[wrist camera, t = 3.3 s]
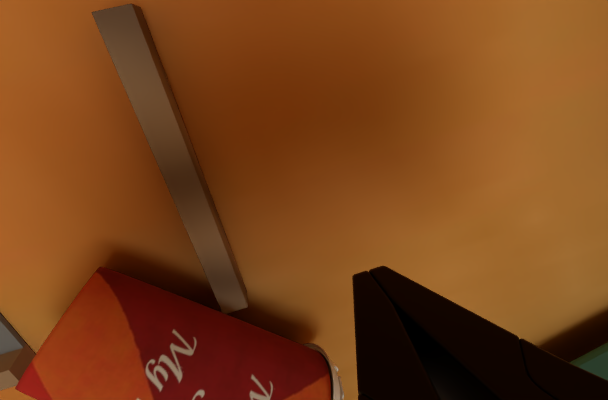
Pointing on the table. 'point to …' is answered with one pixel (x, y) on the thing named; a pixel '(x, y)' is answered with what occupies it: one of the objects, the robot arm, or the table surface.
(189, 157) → the strip
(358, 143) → the table surface
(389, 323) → the robot arm
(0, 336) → the mat
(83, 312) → the coffee cup
